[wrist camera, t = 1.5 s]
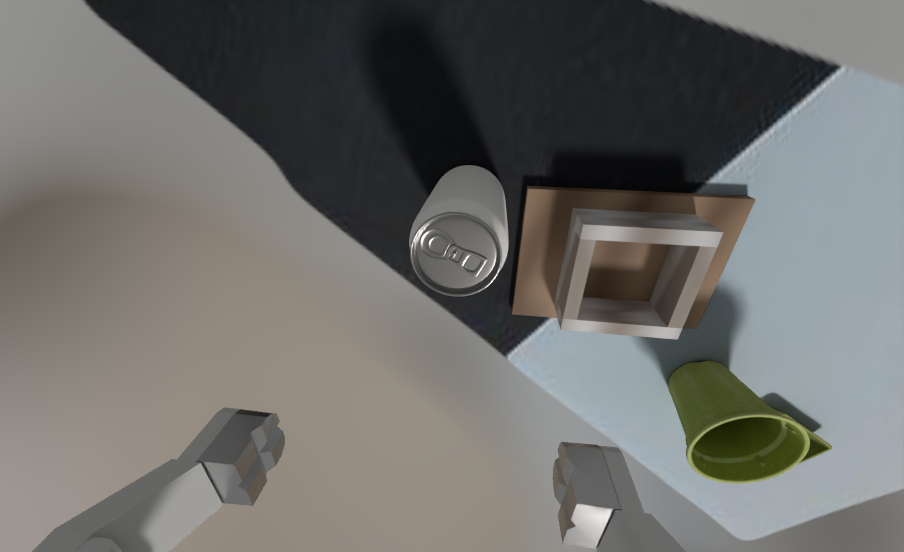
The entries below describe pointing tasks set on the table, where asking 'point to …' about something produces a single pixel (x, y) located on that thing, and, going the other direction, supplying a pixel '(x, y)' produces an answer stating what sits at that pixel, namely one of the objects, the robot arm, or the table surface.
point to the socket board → (624, 257)
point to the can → (461, 233)
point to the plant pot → (732, 427)
